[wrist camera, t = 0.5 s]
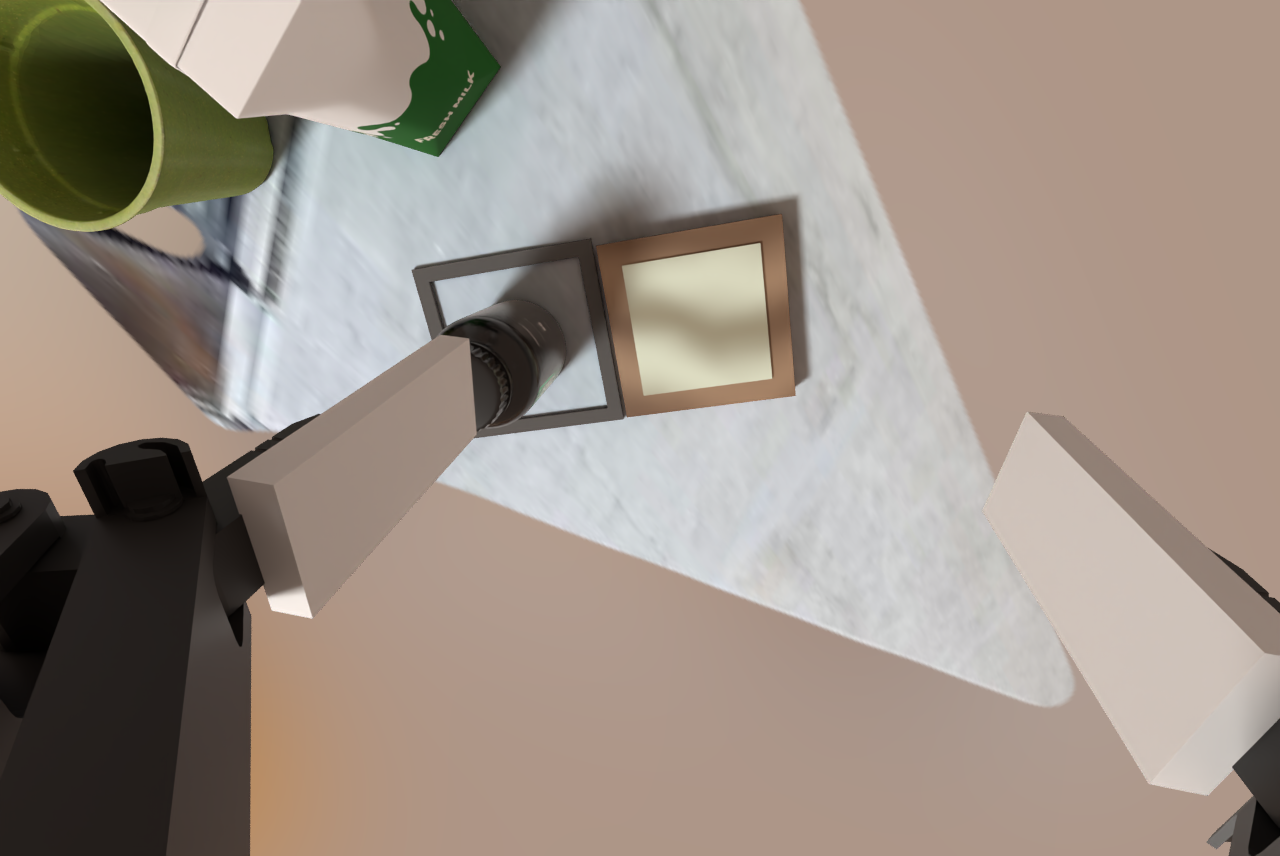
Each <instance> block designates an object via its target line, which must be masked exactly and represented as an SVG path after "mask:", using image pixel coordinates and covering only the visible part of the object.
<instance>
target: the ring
mask: <svg viewBox="0 0 1280 856" xmlns="http://www.w3.org/2000/svg"><path fill="white" fill-rule="evenodd" d="M573 257H579V260H580V266H581V271H582V276H583V281H584V286H585V292H586V297H587V302H588V307H589V312H590V318H591V323H592V328H593V333H594V338H595V344H596V349H597V354H598V359H599V365H600V370H601V375H602V380H603V385H604V391H605V396H606V401H607V406H608V407H605V408H597V409H590V410H582V411H574V412H567V413H559V414H551V415H544V416H536V417H529V418H521V419H518V420H516V421H515V422H513V423H511V424H509V425H506V426H503V427H498V428H484V429H481V430H480V431H478V432H477V435H476V436H475V437H474V438H479V437H487V436H495V435H503V434H511V433H518V432H526V431H534V430H542V429H550V428H558V427H565V426H573V425H581V424H589V423H597V422H605V421H613V420H620V419H624V416H623V411H622V405H621V400H620V395H619V389H618V384H617V378H616V373H615V367H614V362H613V356H612V351H611V345H610V340H609V335H608V329H607V324H606V318H605V313H604V307H603V302H602V296H601V291H600V285H599V280H598V275H597V269H596V264H595V258H594V253H593V247H592V242H591V239H586V240H581V241H575V242H569V243H563V244H558V245H552V246H546V247H540V248H535V249H529V250H523V251H517V252H512V253H506V254H500V255H494V256H489V257H483V258H477V259H471V260H466V261H460V262H454V263H448V264H443V265H437V266H431V267H425V268H420V269H414V270H412V273H413V277H414V280H415V284H416V287H417V291H418V294H419V297H420V301H421V304H422V308H423V311H424V315H425V318H426V322H427V325H428V329H429V332H430V335H431V339H432V340H433V339H435V338H436V337H437V335H438V334H439V333H440V332H441V331H442V330H443V329H444V328H443V324H442V321H441V317H440V313H439V310H438V306H437V303H436V299H435V296H434V292H433V288H432V285H431V282H432V281H438V280H444V279H450V278H456V277H461V276H467V275H473V274H479V273H485V272H491V271H497V270H503V269H509V268H514V267H520V266H526V265H532V264H538V263H544V262H550V261H556V260H561V259H567V258H573Z"/></svg>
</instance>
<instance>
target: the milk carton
mask: <svg viewBox="0 0 1280 856" xmlns="http://www.w3.org/2000/svg"><path fill="white" fill-rule="evenodd" d="M100 1H101V2H102V3H104V4H105V5H106V6H107V7H108V8H109V9H110V10H111V11H112V12H114V13H115V14H116V15H117V16H118V17H119V18H120V19H121V20H122V21H123V22H125V23H126V24H127V25H128V26H129V27H130V28H131V29H132V30H133V31H135V32H136V33H137V34H138V35H139V36H140V37H141V38H143V39H144V40H145V41H146V43H147V44H148V45H149V46H150V47H151V48H152V49H153V50H154V51H155V52H156V53H157V54H158V55H159V56H161V57H162V58H163V59H164V60H165V61H166V62H167V63H169V64H170V65H171V66H173V67H174V68H176V69H177V70H179V71H181V72H182V73H184V74H186V75H187V76H189V77H190V78H191V79H192V80H193V81H194V82H196V83H197V84H198V85H199V86H200V87H201V88H202V89H203V90H205V91H206V92H207V93H208V94H209V95H210V96H211V97H212V98H214V99H215V100H216V101H217V102H218V103H219V104H220V105H221V106H223V107H224V108H225V109H226V110H227V111H228V112H229V113H231V114H232V115H233V116H234V117H235V118H237V119H239V118H250V117H260V116H271V115H282V114H288V115H292V116H296V117H300V118H304V119H308V120H312V121H315V122H319V123H323V124H327V125H331V126H335V127H338V128H342V129H346V130H350V131H354V132H358V133H362V134H366V135H370V136H373V137H376V138H379V139H383V140H386V141H389V142H392V143H395V144H399V145H402V146H405V147H408V148H411V149H415V150H418V151H421V152H424V153H427V154H430V155H433V156H436V157H439V155H440V154H441V152H442V151H443V149H444V148H445V147H446V145H447V144H448V142H449V141H450V139H451V138H452V136H453V135H454V134H455V132H456V131H457V129H458V128H459V126H460V125H461V123H462V122H463V121H464V119H465V118H466V116H467V115H468V113H469V112H470V111H471V109H472V108H473V106H474V105H475V103H476V102H477V100H478V99H479V98H480V96H481V95H482V93H483V92H484V90H485V89H486V87H487V86H488V85H489V83H490V82H491V80H492V79H493V77H494V76H495V75H496V73H497V72H498V70H499V69H500V67H501V66H500V65H499V64H498V62H497V61H496V60H495V59H494V57H493V56H492V55H491V53H490V52H489V51H488V49H487V48H486V47H485V45H484V44H483V43H482V41H481V40H480V39H479V37H478V36H477V35H476V33H475V32H474V31H473V29H472V28H471V27H470V25H469V24H468V22H467V21H466V20H465V18H464V17H463V16H462V14H461V13H460V11H459V10H458V9H457V7H456V6H455V5H454V4H453V2H452V1H451V0H100Z"/></svg>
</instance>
